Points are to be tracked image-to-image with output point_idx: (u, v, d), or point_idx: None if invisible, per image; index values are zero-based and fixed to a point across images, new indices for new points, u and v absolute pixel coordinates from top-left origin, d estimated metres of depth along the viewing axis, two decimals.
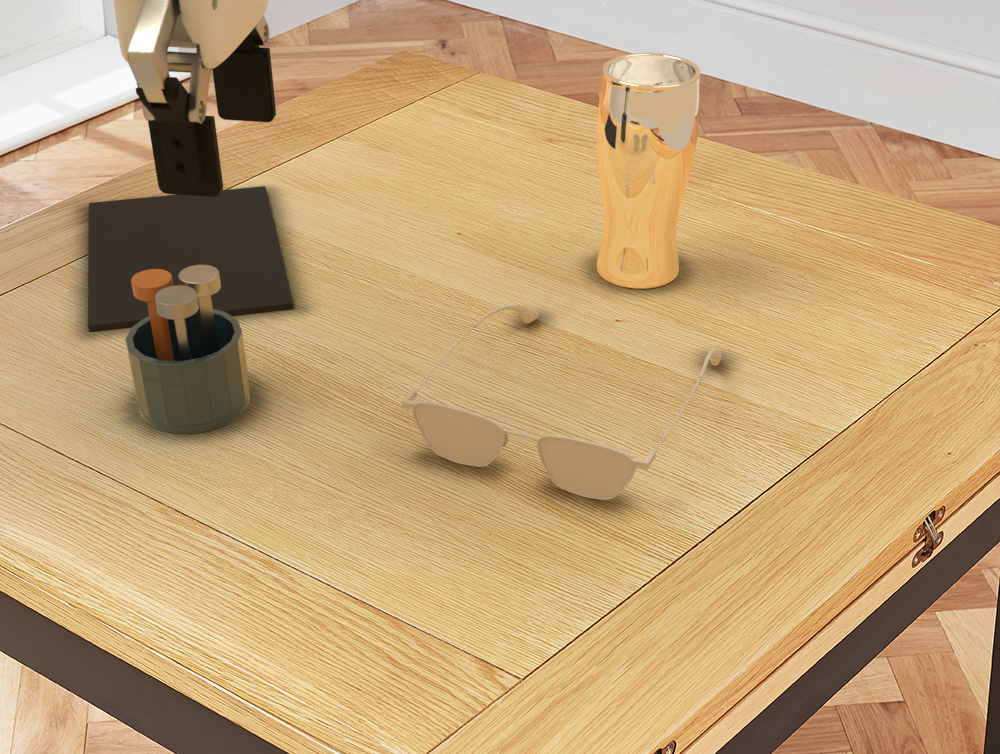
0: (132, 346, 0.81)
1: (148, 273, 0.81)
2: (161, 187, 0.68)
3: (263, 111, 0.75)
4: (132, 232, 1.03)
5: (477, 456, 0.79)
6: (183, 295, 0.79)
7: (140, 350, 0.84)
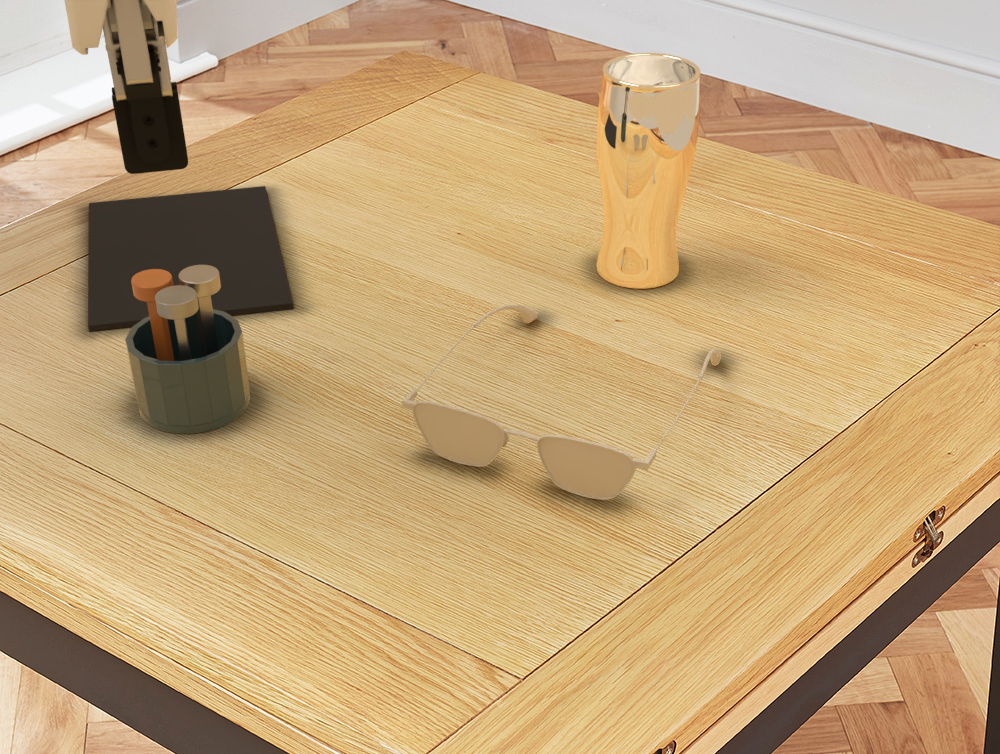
0: (132, 346, 0.81)
1: (148, 273, 0.81)
2: (127, 168, 0.69)
3: None
4: (132, 232, 1.03)
5: (477, 456, 0.79)
6: (183, 295, 0.79)
7: (140, 350, 0.84)
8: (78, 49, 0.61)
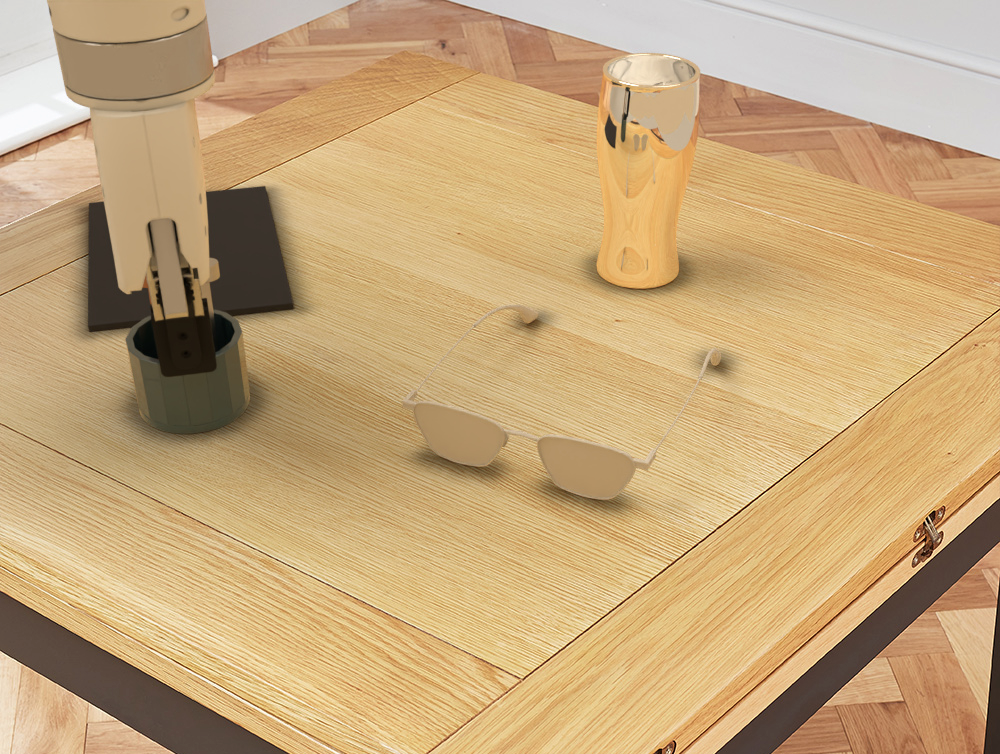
0: (132, 346, 0.81)
1: None
2: (163, 372, 0.78)
3: None
4: None
5: (477, 456, 0.79)
6: None
7: (140, 350, 0.84)
8: (124, 291, 0.71)
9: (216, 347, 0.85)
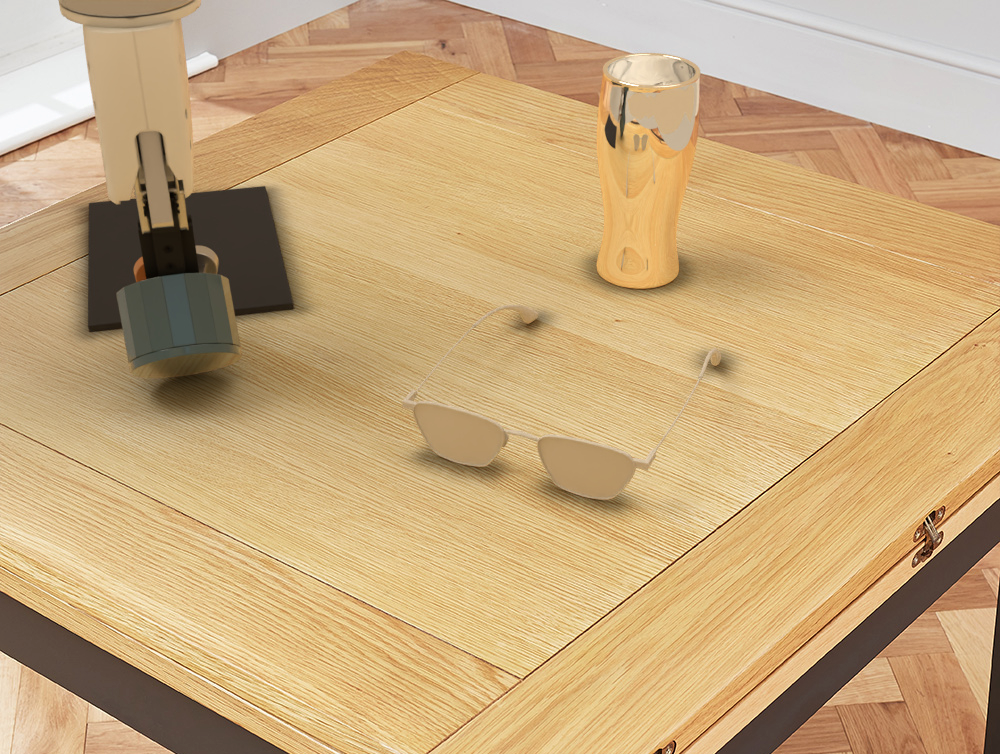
0: None
1: None
2: None
3: None
4: (132, 232, 1.03)
5: (477, 456, 0.79)
6: None
7: None
8: (113, 201, 0.75)
9: None
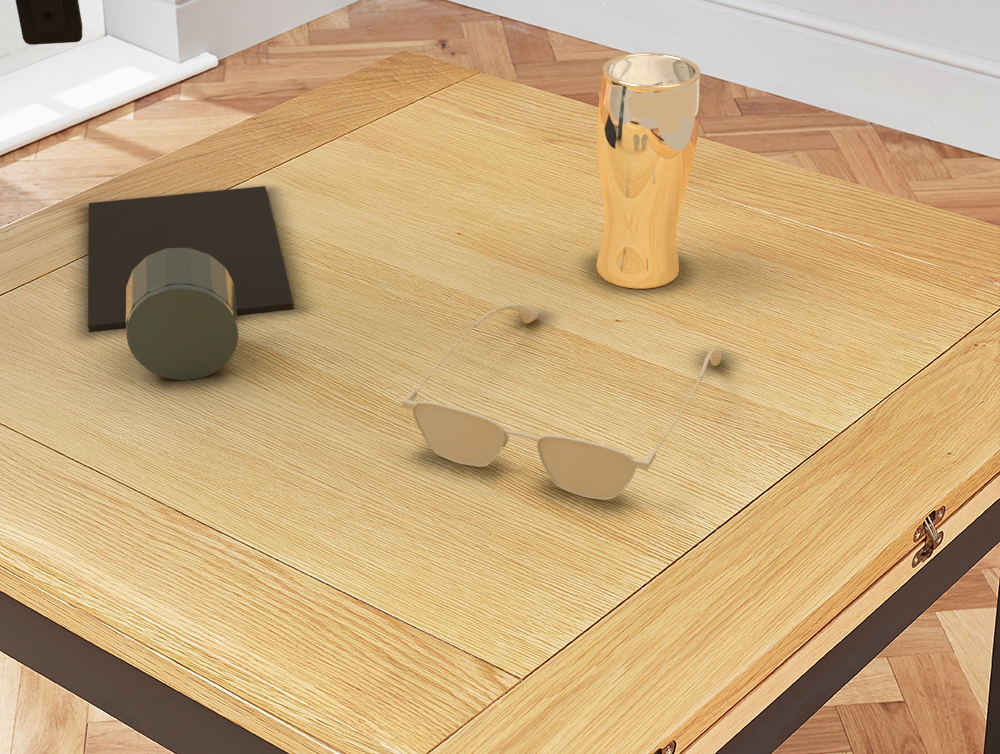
0: None
1: None
2: (25, 39, 0.75)
3: None
4: (132, 232, 1.03)
5: (477, 456, 0.79)
6: None
7: None
8: None
9: None
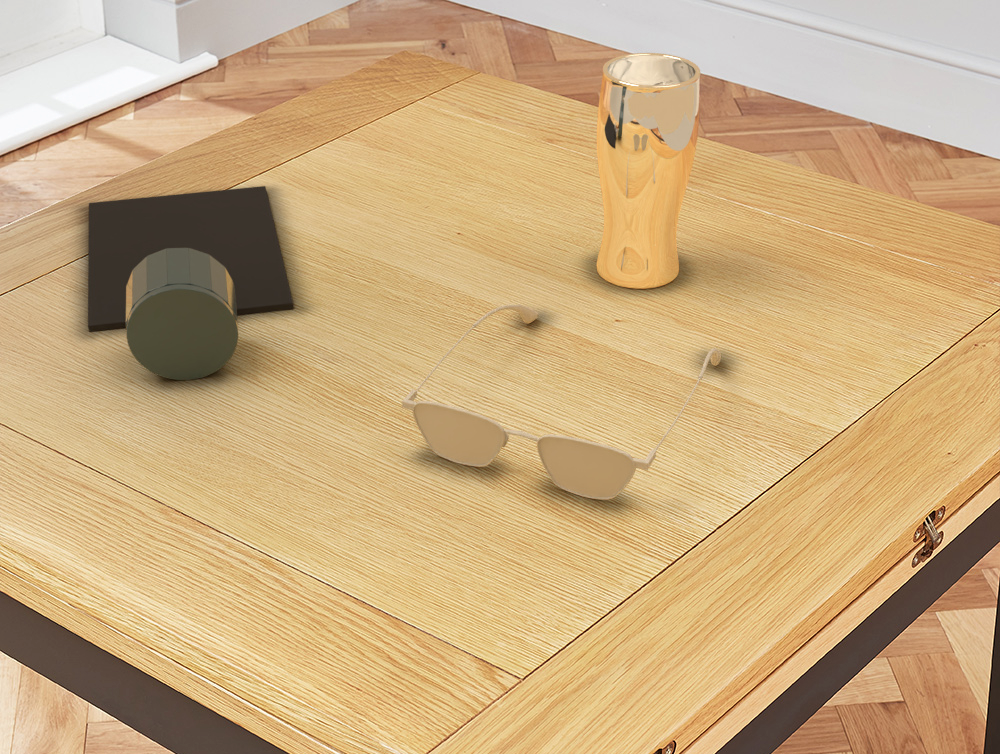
0: None
1: None
2: None
3: None
4: (132, 232, 1.03)
5: (477, 456, 0.79)
6: None
7: None
8: None
9: None
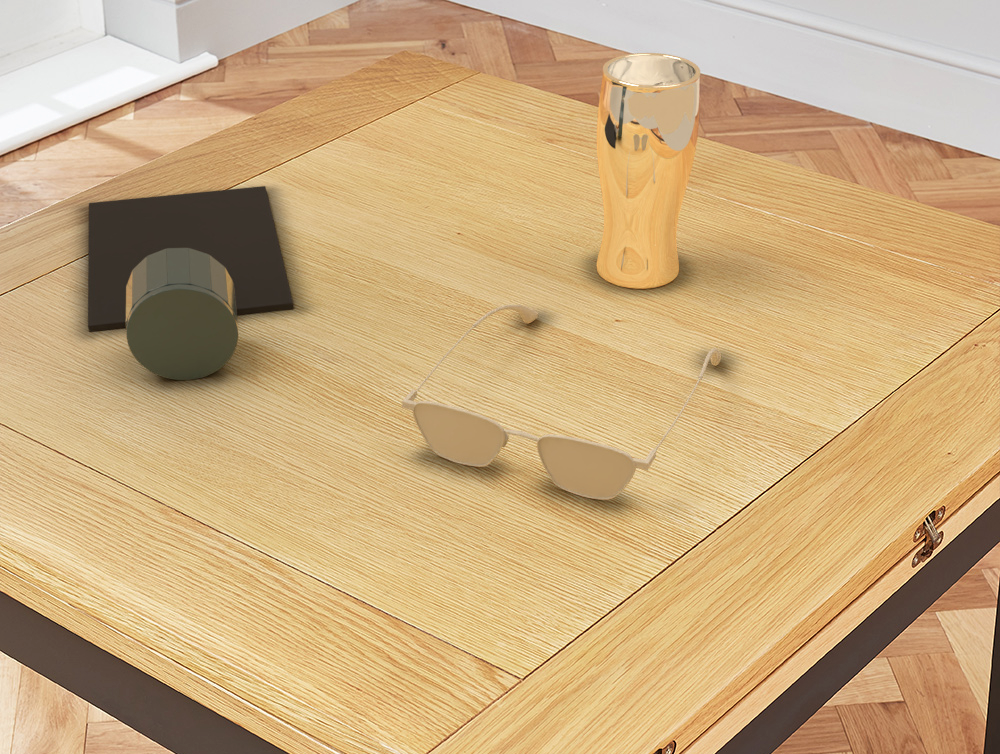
0: None
1: None
2: None
3: None
4: (132, 232, 1.03)
5: (477, 456, 0.79)
6: None
7: None
8: None
9: None
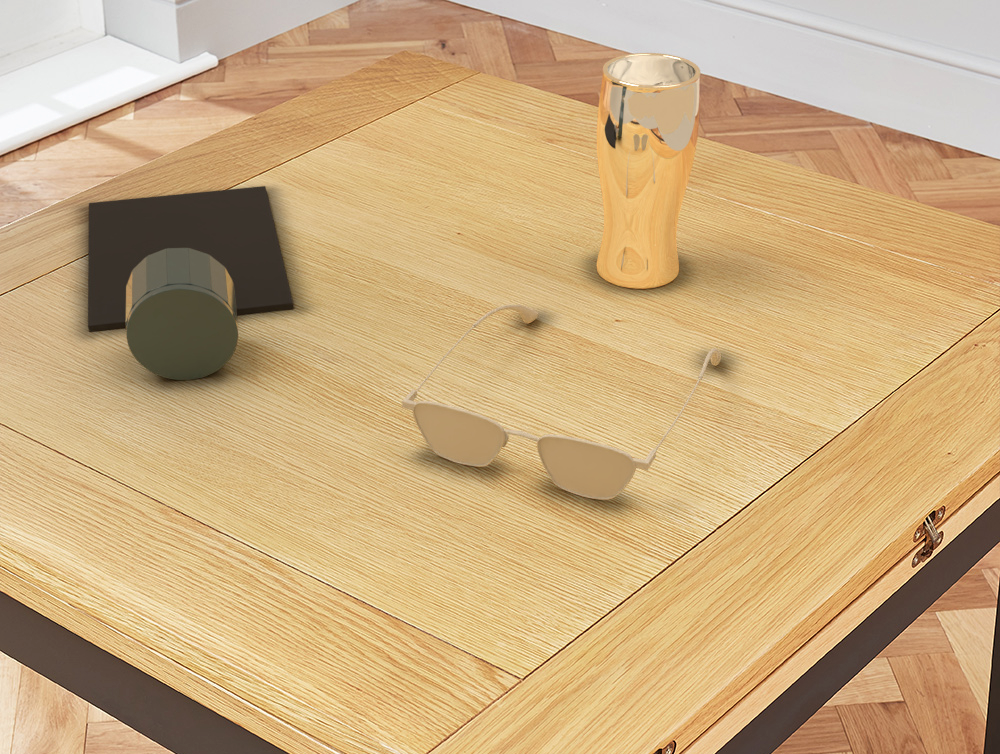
0: None
1: None
2: None
3: None
4: (132, 232, 1.03)
5: (477, 456, 0.79)
6: None
7: None
8: None
9: None
